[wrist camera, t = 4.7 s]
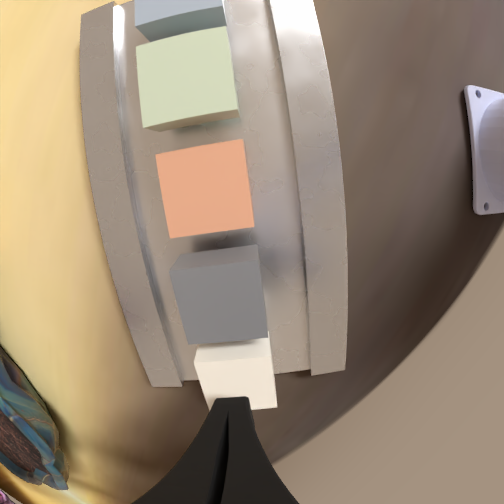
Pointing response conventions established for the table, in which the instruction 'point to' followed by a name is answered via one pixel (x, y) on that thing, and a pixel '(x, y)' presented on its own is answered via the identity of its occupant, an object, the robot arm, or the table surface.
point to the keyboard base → (260, 178)
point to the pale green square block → (186, 80)
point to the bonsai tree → (28, 432)
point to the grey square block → (177, 17)
